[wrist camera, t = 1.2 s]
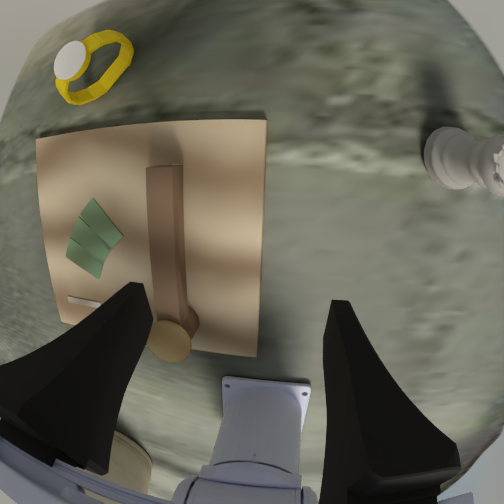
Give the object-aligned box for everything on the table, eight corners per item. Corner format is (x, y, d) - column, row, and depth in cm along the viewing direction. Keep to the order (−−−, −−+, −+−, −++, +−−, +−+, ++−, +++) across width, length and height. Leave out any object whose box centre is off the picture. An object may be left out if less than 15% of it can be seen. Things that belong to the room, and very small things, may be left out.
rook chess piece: (409, 148, 19) (465, 153, 11) (450, 115, 17) (515, 107, 10) (441, 199, 19) (502, 229, 12) (480, 166, 18) (548, 181, 10)
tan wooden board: (257, 351, 25) (255, 358, 25) (65, 317, 28) (60, 322, 27) (267, 120, 19) (265, 119, 19) (41, 138, 22) (34, 139, 21)
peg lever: (204, 339, 25) (191, 365, 21) (165, 333, 25) (149, 357, 22) (199, 164, 20) (180, 168, 17) (153, 164, 20) (129, 169, 17)
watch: (130, 38, 19) (92, 12, 13) (150, 56, 19) (113, 30, 13) (81, 94, 20) (34, 83, 14) (98, 114, 20) (51, 106, 15)
